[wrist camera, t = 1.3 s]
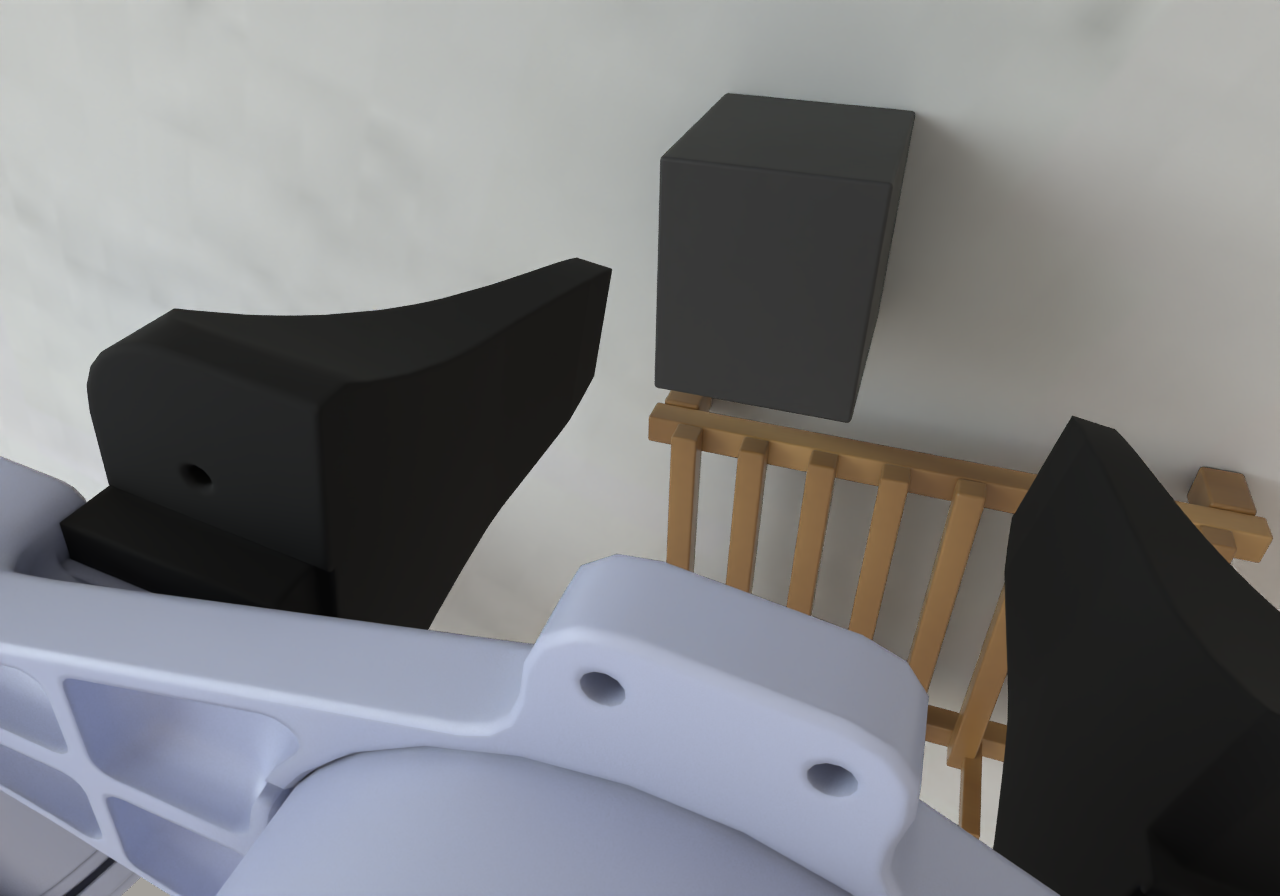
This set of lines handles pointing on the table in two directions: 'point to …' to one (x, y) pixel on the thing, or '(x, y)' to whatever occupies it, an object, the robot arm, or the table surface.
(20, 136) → the table surface
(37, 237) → the table surface
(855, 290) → the black box
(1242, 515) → the dish rack
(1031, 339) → the table surface
